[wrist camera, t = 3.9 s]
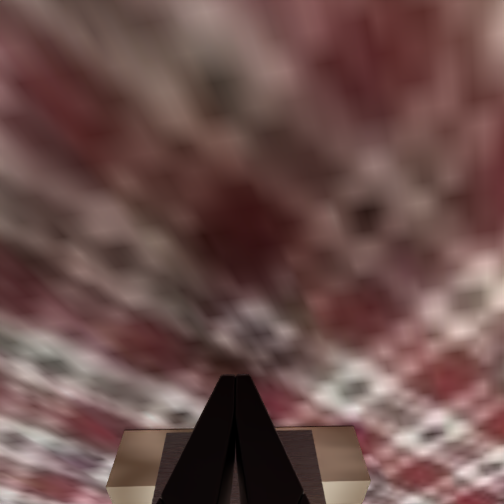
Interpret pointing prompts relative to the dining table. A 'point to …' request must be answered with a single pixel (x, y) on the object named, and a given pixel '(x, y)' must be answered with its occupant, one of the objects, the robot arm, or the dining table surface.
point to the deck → (325, 438)
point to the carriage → (294, 442)
